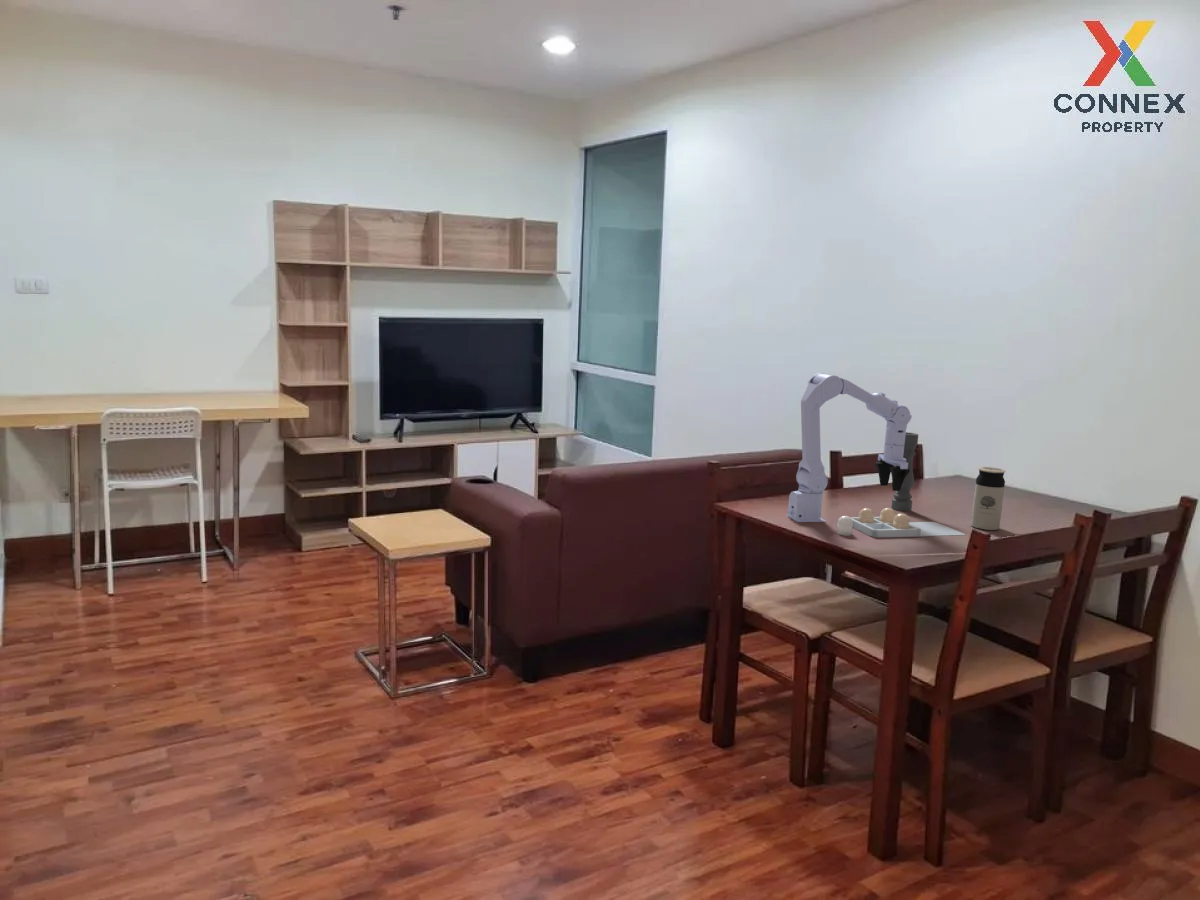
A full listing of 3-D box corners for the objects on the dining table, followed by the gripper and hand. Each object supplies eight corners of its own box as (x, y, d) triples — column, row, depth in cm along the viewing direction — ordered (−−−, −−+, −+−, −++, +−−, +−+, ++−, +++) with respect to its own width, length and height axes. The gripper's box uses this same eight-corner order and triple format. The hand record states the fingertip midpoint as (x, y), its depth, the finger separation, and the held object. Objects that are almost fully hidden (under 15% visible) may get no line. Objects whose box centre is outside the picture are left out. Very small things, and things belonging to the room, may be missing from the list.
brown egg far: (884, 528, 264) (886, 509, 263) (876, 524, 268) (878, 506, 267) (897, 528, 265) (898, 509, 264) (889, 524, 269) (891, 506, 268)
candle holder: (907, 508, 295) (914, 432, 290) (914, 512, 289) (922, 435, 284) (888, 507, 294) (896, 431, 290) (895, 512, 288) (903, 434, 284)
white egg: (841, 537, 253) (842, 517, 252) (833, 533, 257) (835, 514, 256) (854, 537, 254) (856, 517, 253) (847, 533, 258) (848, 514, 257)
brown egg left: (862, 529, 262) (864, 509, 261) (855, 525, 266) (857, 506, 265) (875, 528, 263) (877, 509, 262) (868, 525, 267) (869, 506, 266)
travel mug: (975, 522, 278) (982, 465, 275) (1002, 527, 274) (1009, 469, 271) (967, 527, 272) (974, 468, 269) (994, 532, 267) (1001, 472, 264)
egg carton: (873, 539, 253) (873, 530, 253) (846, 525, 267) (846, 517, 267) (966, 536, 261) (966, 528, 260) (934, 523, 275) (935, 515, 274)
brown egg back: (897, 534, 257) (899, 515, 256) (889, 531, 261) (891, 511, 260) (910, 534, 258) (912, 515, 257) (902, 530, 262) (904, 511, 261)
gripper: (919, 448, 267) (914, 493, 270) (894, 440, 281) (890, 483, 284) (897, 447, 266) (892, 493, 268) (873, 440, 280) (869, 482, 282)
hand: (889, 487), depth 276 cm, fingers open, 7 cm apart
